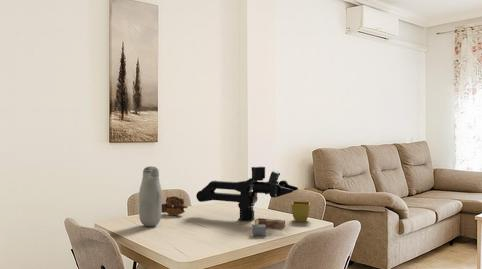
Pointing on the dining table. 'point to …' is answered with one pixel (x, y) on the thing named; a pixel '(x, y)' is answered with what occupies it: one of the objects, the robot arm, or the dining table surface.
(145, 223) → the grey tall rounded cylinder
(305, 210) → the flower pot
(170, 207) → the wooden carving
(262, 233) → the keeper
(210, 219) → the dining table surface
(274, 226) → the link
